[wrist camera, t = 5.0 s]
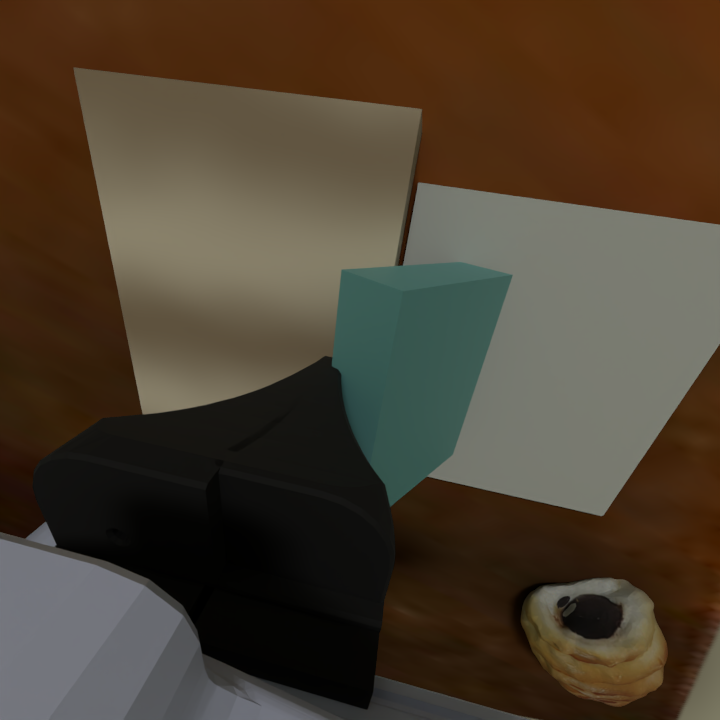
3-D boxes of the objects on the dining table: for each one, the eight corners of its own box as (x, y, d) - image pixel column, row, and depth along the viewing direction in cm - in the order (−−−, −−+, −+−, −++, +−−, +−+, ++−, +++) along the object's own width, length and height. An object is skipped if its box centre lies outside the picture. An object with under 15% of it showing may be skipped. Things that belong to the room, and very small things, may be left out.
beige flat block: (360, 477, 18) (349, 524, 16) (192, 438, 19) (155, 476, 16) (421, 132, 11) (421, 109, 8) (151, 98, 12) (73, 67, 9)
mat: (598, 509, 16) (602, 516, 16) (367, 457, 17) (366, 462, 17) (780, 234, 11) (793, 235, 10) (418, 183, 12) (418, 182, 11)
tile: (416, 431, 16) (452, 454, 15) (318, 494, 12) (356, 533, 11) (460, 261, 12) (512, 274, 11) (341, 269, 8) (403, 291, 7)
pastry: (648, 663, 21) (691, 751, 18) (535, 661, 23) (554, 739, 20) (638, 568, 18) (688, 653, 14) (508, 575, 20) (525, 651, 17)
